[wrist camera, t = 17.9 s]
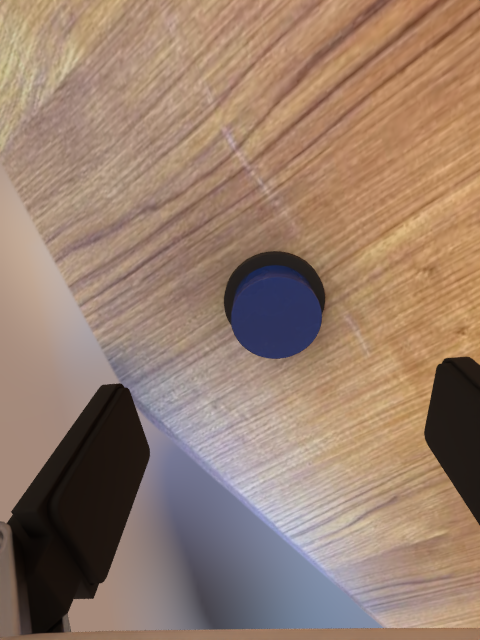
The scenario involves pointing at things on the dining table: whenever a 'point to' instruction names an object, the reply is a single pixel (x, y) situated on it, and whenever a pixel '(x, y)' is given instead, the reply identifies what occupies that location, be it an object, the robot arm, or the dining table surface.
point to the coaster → (269, 260)
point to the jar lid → (275, 312)
